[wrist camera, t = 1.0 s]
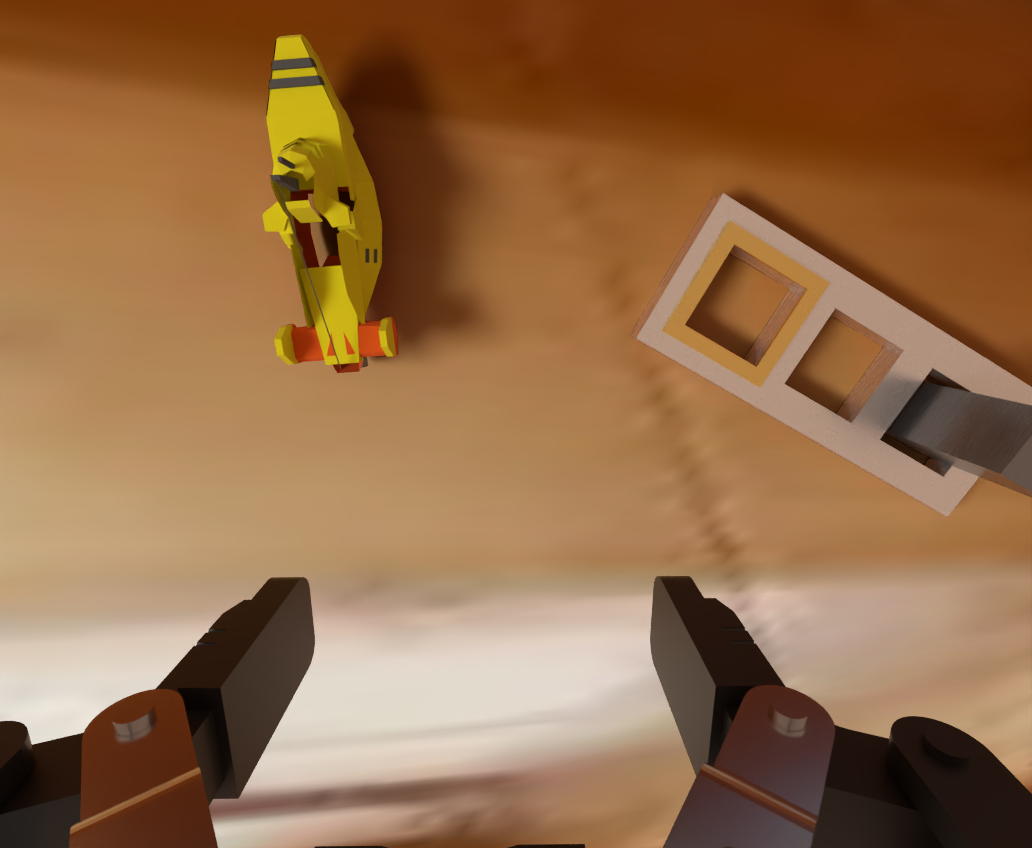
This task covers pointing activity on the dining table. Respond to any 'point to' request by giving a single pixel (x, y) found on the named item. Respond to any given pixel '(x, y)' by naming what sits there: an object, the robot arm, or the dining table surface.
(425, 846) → the dining table surface
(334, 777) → the dining table surface
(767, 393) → the rail
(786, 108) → the dining table surface
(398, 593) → the dining table surface
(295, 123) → the toy boat
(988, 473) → the peg
